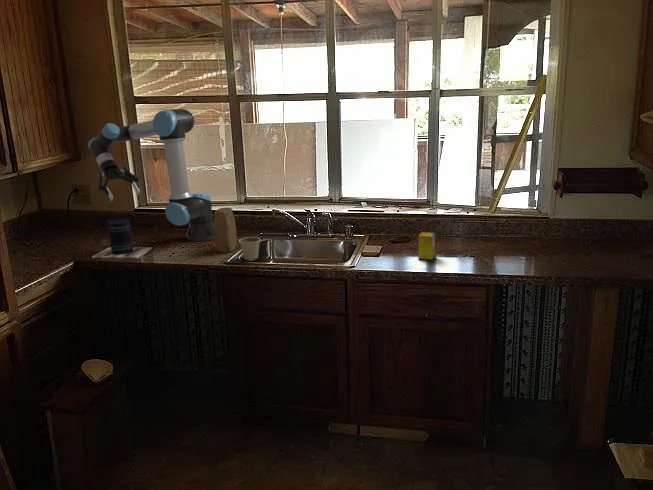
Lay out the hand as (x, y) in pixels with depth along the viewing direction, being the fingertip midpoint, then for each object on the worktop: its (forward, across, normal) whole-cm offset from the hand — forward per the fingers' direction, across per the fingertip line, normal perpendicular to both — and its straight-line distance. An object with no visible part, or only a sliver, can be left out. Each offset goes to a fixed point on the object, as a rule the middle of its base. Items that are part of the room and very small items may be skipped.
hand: (126, 196), depth 279 cm
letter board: (+24, +11, -10) cm, 29 cm away
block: (+51, -25, +11) cm, 58 cm away
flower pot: (+65, -25, +25) cm, 74 cm away
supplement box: (+110, -75, +62) cm, 147 cm away
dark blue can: (+24, +11, -10) cm, 28 cm away
